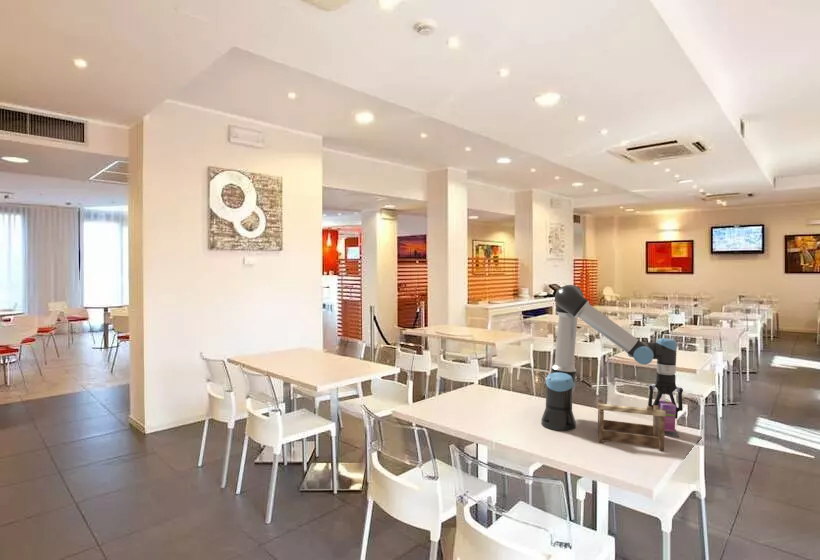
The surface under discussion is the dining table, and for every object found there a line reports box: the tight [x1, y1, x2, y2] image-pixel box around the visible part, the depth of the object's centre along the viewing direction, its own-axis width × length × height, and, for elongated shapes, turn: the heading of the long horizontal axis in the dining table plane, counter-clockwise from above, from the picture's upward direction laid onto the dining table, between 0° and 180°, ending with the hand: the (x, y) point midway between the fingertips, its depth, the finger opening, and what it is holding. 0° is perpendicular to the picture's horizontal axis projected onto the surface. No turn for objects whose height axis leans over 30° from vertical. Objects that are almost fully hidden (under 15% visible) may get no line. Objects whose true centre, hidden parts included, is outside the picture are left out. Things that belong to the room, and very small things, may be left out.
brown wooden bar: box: [597, 402, 666, 417], centre depth 195 cm, size 26×3×3 cm, turn 70°
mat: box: [664, 429, 680, 438], centre depth 211 cm, size 10×11×1 cm
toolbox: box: [597, 399, 665, 452], centre depth 201 cm, size 24×20×13 cm
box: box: [654, 397, 677, 432], centre depth 211 cm, size 10×6×12 cm, turn 168°
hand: (664, 424), depth 211 cm, fingers closed on box, 6 cm apart
